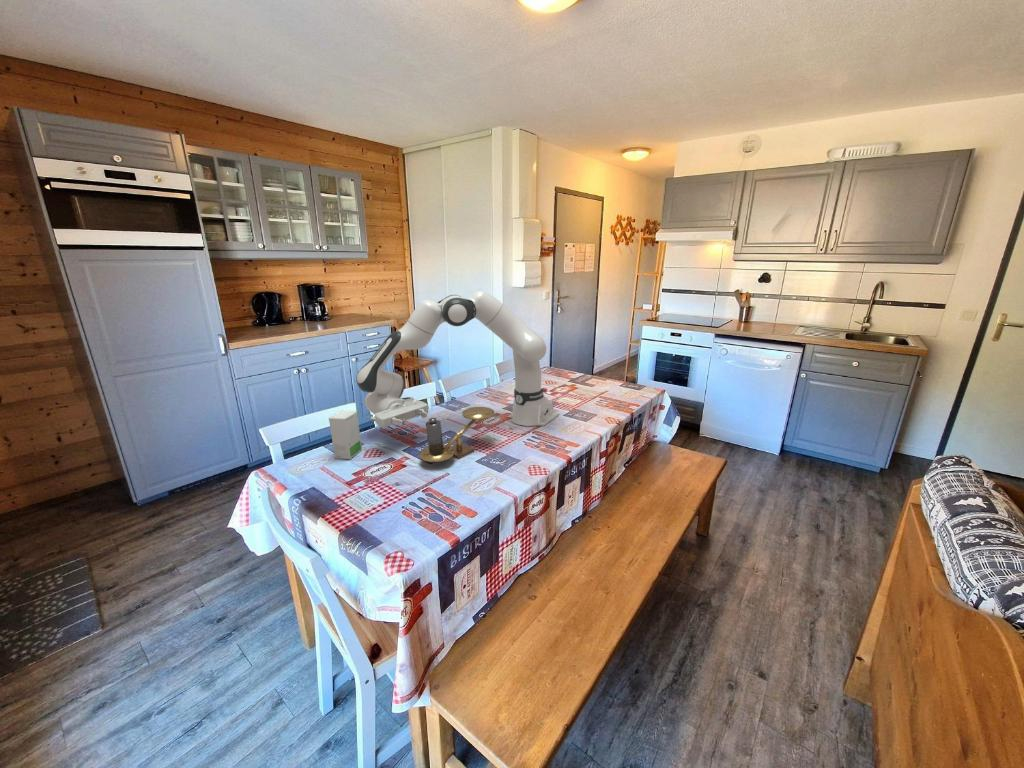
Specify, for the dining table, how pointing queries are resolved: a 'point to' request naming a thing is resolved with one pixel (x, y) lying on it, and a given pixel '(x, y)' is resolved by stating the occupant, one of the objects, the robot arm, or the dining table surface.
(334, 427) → the skincare box
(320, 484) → the dining table surface
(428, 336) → the robot arm
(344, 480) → the dining table surface
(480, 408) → the balance
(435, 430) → the iron weight
